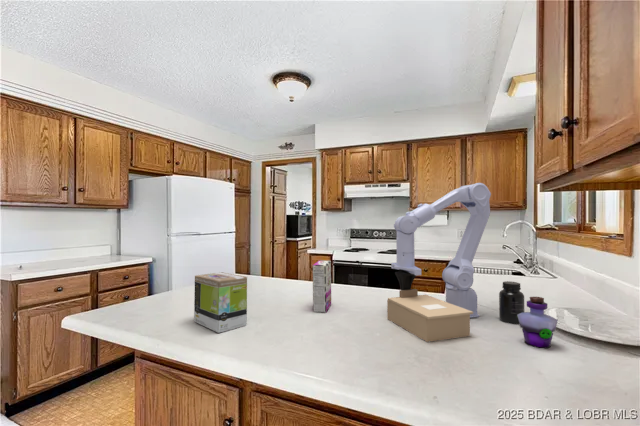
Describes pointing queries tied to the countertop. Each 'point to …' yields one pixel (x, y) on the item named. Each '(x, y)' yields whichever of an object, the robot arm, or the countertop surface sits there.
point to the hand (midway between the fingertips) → (405, 293)
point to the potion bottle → (537, 324)
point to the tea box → (220, 301)
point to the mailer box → (429, 324)
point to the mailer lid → (427, 305)
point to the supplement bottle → (510, 302)
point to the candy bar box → (321, 286)
